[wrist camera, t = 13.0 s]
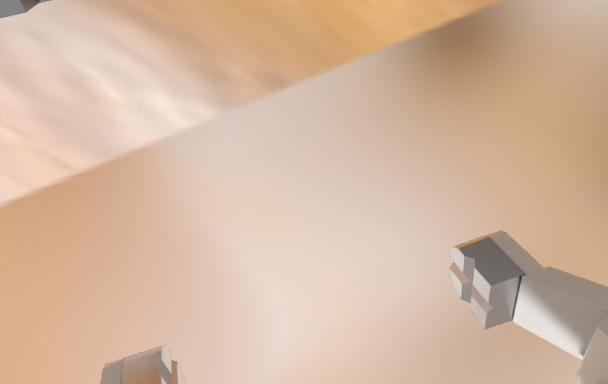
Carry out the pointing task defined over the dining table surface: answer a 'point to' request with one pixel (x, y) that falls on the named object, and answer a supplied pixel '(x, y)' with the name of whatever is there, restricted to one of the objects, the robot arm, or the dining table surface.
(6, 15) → the pusher lane
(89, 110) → the dining table surface
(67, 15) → the dining table surface
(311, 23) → the dining table surface
